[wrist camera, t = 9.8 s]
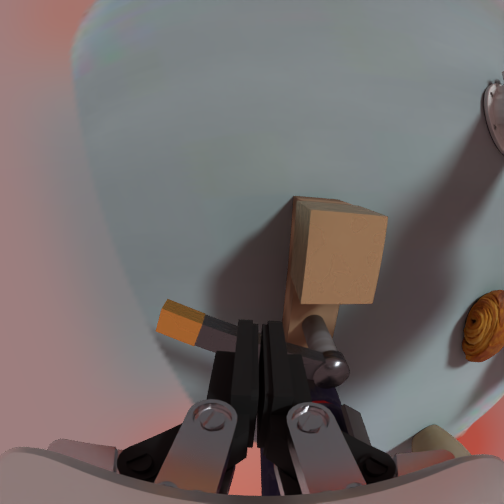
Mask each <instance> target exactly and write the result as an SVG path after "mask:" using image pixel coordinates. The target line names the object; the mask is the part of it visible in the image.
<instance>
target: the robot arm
mask: <svg viewBox="0 0 504 504" xmlns="http://www.w3.org/2000/svg"><path fill="white" fill-rule="evenodd" d="M502 75H503V79H504V71H503V72H502ZM484 110H485V116H486V121H487V124H488V128H489V131H490V134H491V136H492V138H493V140H494V142H495V144H496V146H497V147H498V149H499V150H500V152H501V153H502V154H503V155H504V84H503V85H501V84H497V83H496V84H491V85H489V86H488V87H487V89H486V91H485V96H484ZM256 416H257V447H258V448H263V455H266V458H267V459H268V460H269V461H271V462H272V463H273V464H274V470H275V475H276V479H277V483H278V487H279V491H280V494H281V496H242V495H228V493H229V489H230V486H231V482H232V478H233V475H234V471H235V465H236V464H237V463H239V462H240V461H242V460H243V459H244V458H246V456H247V447H251V448H252V447H253V440H254V432H255V424H256ZM0 504H504V462H503V460H501V459H500V458H499V457H496V456H493V455H484V454H482V455H469V456H463V457H458V458H455V456H454V455H453V454H452V453H451V452H450V451H448V450H443V449H439V450H431V451H422V452H412V453H396V454H395V456H389V455H388V454H386V453H385V452H383V451H381V450H378V449H376V448H374V447H372V446H370V445H368V444H366V443H364V442H362V441H360V440H358V439H356V438H354V437H353V436H351V435H349V434H347V433H345V432H343V431H341V430H340V428H339V426H338V424H337V421H336V419H335V417H334V415H333V414H332V412H331V411H330V410H329V409H328V408H326V407H325V406H323V405H321V404H318V403H313V402H312V399H311V395H310V390H309V385H308V381H307V376H306V372H305V367H304V363H303V358H302V355H301V354H287V348H286V341H285V335H284V329H283V323H282V322H280V321H268V324H267V325H264V324H262V333H261V343H260V354H259V358H258V324H253V320H239V322H238V331H237V340H236V350H235V352H229V351H216V355H215V359H214V364H213V369H212V374H211V380H210V385H209V390H208V395H207V400H202V401H200V402H197V403H196V404H194V405H193V406H192V407H191V408H190V409H189V411H188V413H187V415H186V417H185V419H184V421H183V423H182V424H180V425H178V426H176V427H174V428H172V429H169V430H167V431H165V432H163V433H161V434H158V435H156V436H154V437H152V438H149V439H147V440H145V441H142V442H140V443H138V444H135V445H133V446H130V447H128V448H127V449H125V450H117V449H116V447H112V446H104V445H96V444H90V443H84V442H78V441H72V440H68V439H58V440H55V441H53V442H52V443H51V444H50V446H49V447H48V449H47V450H44V449H39V448H30V447H16V448H12V449H9V450H7V451H5V452H4V453H3V454H1V455H0Z"/></svg>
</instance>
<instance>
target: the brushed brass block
mask: <svg viewBox="0 0 504 504" xmlns="http://www.w3.org/2000/svg"><path fill="white" fill-rule="evenodd" d="M387 221H388V217H387V216H385V215H382V214H379V213H377V212H374V211H371V210H369V209H366V208H363V207H360V206H355V205H345V204H334V203H323V202H310V201H297V202H296V215H295V228H294V240H293V251H292V262H291V273H290V275H291V278H292V281H293V284H294V286H295V289H296V292H297V295H298V298H299V300H300V303H301V304H372V303H373V299H374V294H375V290H376V285H377V281H378V276H379V271H380V265H381V260H382V254H383V248H384V242H385V236H386V229H387Z"/></svg>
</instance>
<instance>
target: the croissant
mask: <svg viewBox="0 0 504 504" xmlns="http://www.w3.org/2000/svg"><path fill="white" fill-rule="evenodd" d="M464 335H465V337H464V339H463V342H462V348H463V351H464V353H465V355H466V359H467V360H468V361H471V362H483V361H485V360H487V359H489V358H491V357H492V356H494V355H495V354H496V353H498V352H499V351H500V350H501V349H502V348H503V346H504V290H497V291H496V290H495V291H491V292H490V293H487V294H485V295H484V296H482V297H481V298H480V299H479V300H478V302H477V303H476V304H474V306H473V307H472V308H471V310H470V312H469V314H468V317H467V321H466V326H465V328H464Z"/></svg>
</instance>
